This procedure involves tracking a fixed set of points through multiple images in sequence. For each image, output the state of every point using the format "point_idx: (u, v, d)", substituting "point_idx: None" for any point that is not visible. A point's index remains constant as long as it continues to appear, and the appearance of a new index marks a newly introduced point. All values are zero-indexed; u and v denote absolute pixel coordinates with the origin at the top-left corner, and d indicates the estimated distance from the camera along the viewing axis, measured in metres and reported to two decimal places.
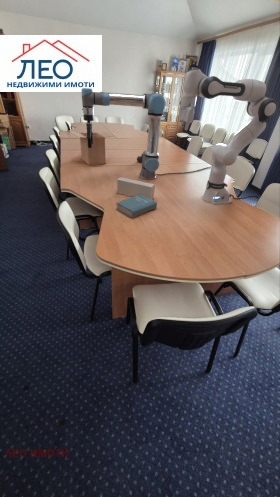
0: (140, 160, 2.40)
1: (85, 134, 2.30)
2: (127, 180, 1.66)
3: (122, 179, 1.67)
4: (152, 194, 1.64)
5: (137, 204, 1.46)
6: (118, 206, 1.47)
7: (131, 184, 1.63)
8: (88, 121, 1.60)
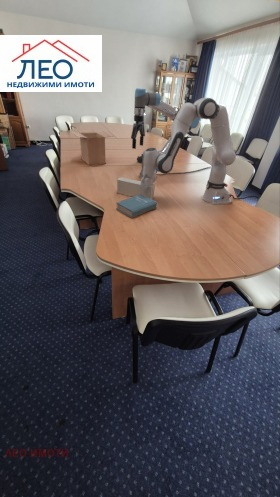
0: (140, 160, 2.40)
1: (85, 134, 2.30)
2: (127, 180, 1.66)
3: (122, 179, 1.67)
4: (152, 194, 1.64)
5: (137, 204, 1.46)
6: (118, 206, 1.47)
7: (131, 184, 1.63)
8: None
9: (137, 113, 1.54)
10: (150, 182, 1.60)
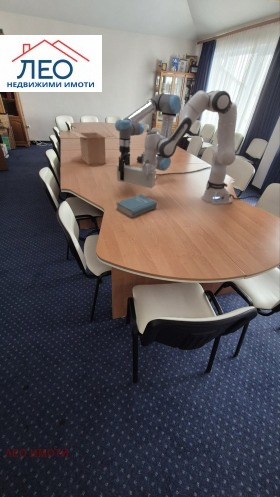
0: (140, 160, 2.40)
1: (85, 134, 2.30)
2: (128, 166, 1.60)
3: None
4: (153, 181, 1.58)
5: (137, 204, 1.46)
6: (118, 206, 1.47)
7: (131, 171, 1.57)
8: None
9: (122, 145, 1.49)
10: (151, 168, 1.54)
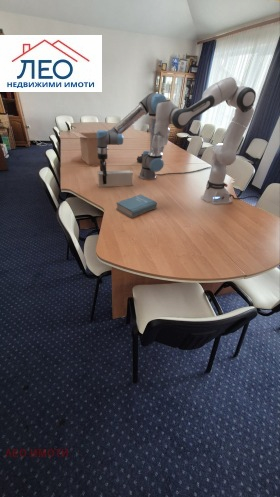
0: (140, 160, 2.40)
1: (85, 134, 2.30)
2: None
3: (102, 172, 1.76)
4: None
5: (137, 204, 1.46)
6: (118, 206, 1.47)
7: (113, 175, 1.77)
8: None
9: (103, 152, 1.65)
10: (162, 142, 1.42)
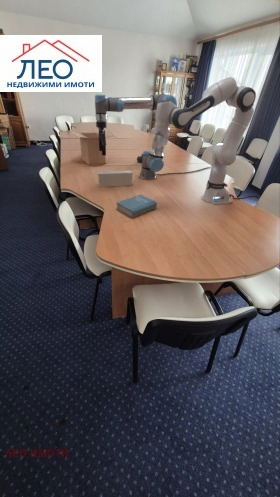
0: (140, 160, 2.40)
1: (85, 134, 2.30)
2: (106, 172, 1.78)
3: (102, 172, 1.76)
4: None
5: (137, 204, 1.46)
6: (118, 206, 1.47)
7: (113, 175, 1.77)
8: None
9: (102, 119, 1.52)
10: (162, 142, 1.42)
